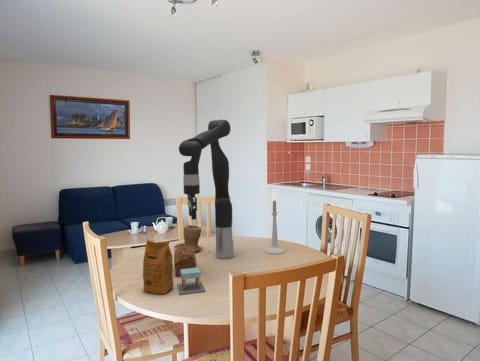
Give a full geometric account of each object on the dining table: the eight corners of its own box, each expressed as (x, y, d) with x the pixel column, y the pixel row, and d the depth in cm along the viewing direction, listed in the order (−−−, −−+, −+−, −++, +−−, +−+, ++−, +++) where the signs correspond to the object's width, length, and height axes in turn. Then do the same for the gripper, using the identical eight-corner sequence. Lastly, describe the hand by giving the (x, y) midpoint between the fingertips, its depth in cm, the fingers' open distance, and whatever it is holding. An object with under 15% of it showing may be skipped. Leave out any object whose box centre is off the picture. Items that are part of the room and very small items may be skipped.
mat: (201, 282, 164) (201, 280, 163) (205, 291, 153) (205, 290, 153) (177, 285, 161) (176, 283, 161) (179, 295, 150) (179, 293, 150)
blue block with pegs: (180, 285, 159) (180, 269, 158) (198, 283, 161) (198, 267, 160) (182, 290, 153) (181, 274, 152) (201, 288, 155) (200, 272, 154)
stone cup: (206, 249, 213) (205, 224, 212) (193, 255, 203) (192, 229, 202) (186, 245, 221) (185, 222, 220) (173, 251, 211) (172, 226, 210)
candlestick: (280, 255, 199) (279, 202, 195) (259, 252, 205) (259, 201, 202) (289, 249, 210) (289, 199, 206) (269, 246, 216) (269, 197, 213)
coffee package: (153, 283, 163) (151, 236, 161) (176, 287, 158) (174, 238, 156) (139, 292, 154) (137, 242, 152) (163, 296, 149) (161, 245, 147)
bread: (196, 275, 172) (195, 255, 171) (174, 277, 170) (173, 257, 169) (195, 262, 190) (194, 244, 189) (174, 264, 189) (174, 245, 188)
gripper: (181, 182, 174) (183, 215, 176) (185, 185, 160) (186, 221, 162) (197, 181, 176) (198, 214, 178) (201, 185, 162) (203, 220, 164)
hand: (192, 217), depth 170 cm, fingers open, 8 cm apart
